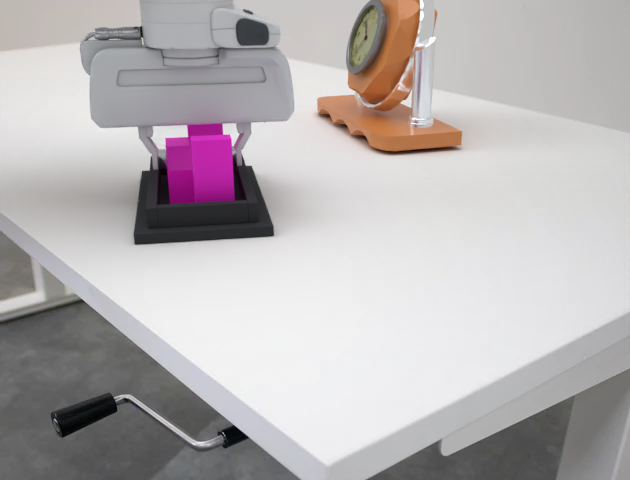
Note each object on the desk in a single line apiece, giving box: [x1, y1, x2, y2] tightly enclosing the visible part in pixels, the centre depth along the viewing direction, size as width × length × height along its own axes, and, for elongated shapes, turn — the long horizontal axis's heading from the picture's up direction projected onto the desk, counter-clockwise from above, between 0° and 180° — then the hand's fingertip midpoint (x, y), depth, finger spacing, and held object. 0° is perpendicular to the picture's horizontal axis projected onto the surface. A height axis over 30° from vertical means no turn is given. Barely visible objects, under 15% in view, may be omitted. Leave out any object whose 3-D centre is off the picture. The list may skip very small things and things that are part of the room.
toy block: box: [165, 124, 235, 204], centre depth 79 cm, size 15×6×8 cm, turn 11°
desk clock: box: [316, 0, 463, 153], centre depth 109 cm, size 12×30×20 cm, turn 18°
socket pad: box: [133, 154, 275, 245], centre depth 80 cm, size 13×22×3 cm, turn 10°
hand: (198, 166), depth 79 cm, fingers closed on toy block, 6 cm apart
